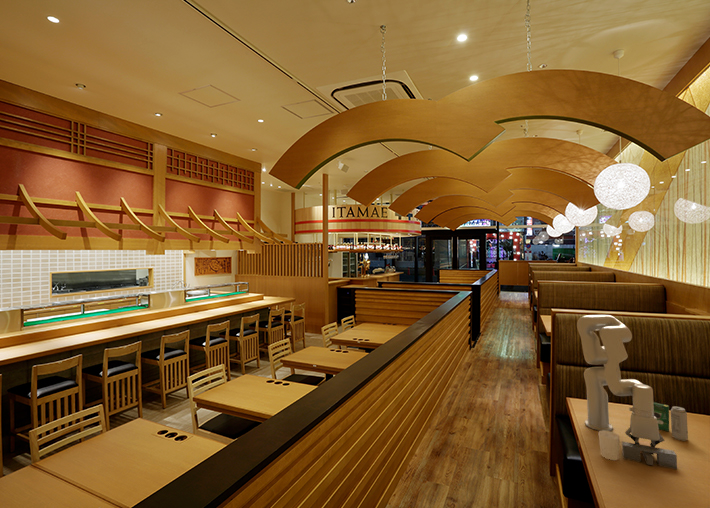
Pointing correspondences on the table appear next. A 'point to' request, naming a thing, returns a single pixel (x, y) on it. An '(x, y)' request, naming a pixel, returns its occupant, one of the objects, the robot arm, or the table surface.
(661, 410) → the coffee box
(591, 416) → the robot arm
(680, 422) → the energy drink can
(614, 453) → the white cup
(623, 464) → the table surface
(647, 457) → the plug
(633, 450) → the grey long block
